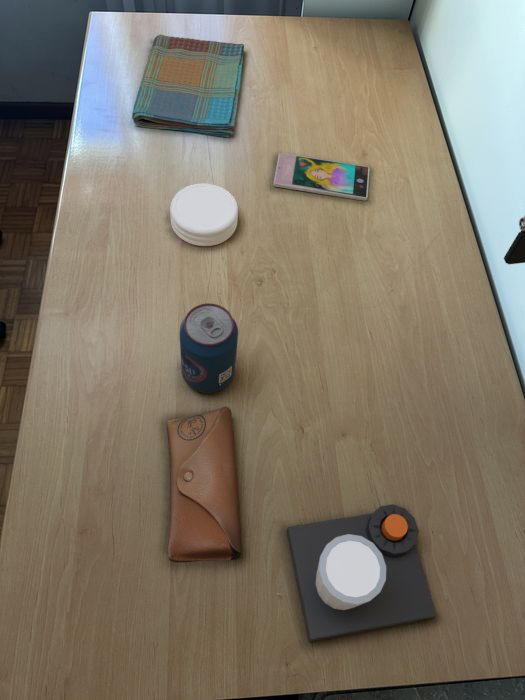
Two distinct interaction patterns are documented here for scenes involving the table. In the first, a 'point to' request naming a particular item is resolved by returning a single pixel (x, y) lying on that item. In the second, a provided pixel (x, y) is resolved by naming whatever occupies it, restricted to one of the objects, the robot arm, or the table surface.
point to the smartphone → (322, 176)
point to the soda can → (208, 347)
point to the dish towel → (190, 86)
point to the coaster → (204, 214)
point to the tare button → (394, 527)
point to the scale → (396, 594)
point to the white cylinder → (350, 572)
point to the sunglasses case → (203, 488)
